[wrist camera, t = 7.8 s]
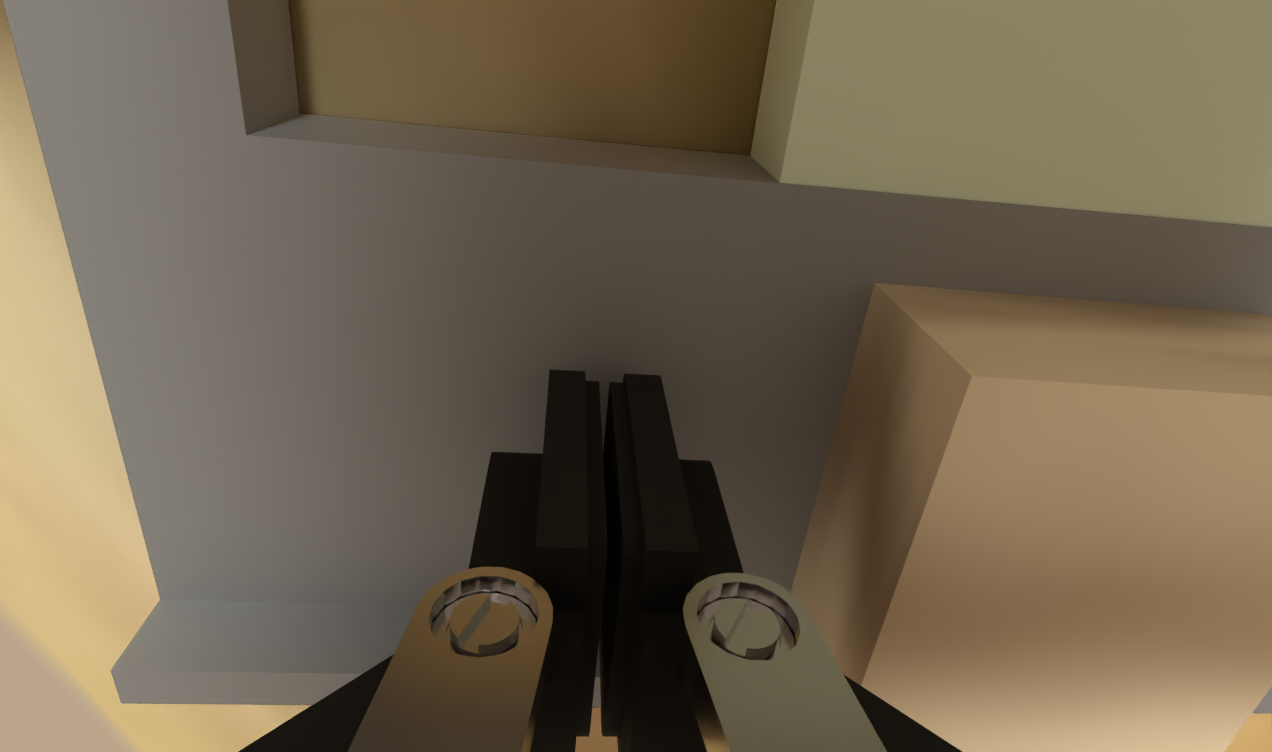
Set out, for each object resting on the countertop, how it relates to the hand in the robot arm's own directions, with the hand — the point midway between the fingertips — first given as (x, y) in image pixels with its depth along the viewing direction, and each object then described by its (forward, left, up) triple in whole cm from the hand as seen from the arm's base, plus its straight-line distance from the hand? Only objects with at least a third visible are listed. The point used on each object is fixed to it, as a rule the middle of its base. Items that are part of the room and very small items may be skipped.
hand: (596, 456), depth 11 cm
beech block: (0, +7, -1) cm, 7 cm away
